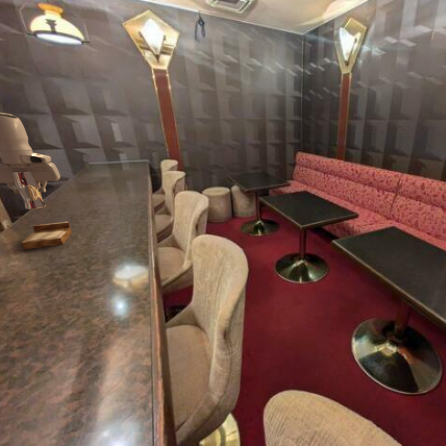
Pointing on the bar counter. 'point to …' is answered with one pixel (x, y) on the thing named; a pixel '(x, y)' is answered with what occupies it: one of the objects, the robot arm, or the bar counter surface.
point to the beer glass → (28, 189)
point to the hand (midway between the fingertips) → (31, 192)
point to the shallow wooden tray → (48, 235)
